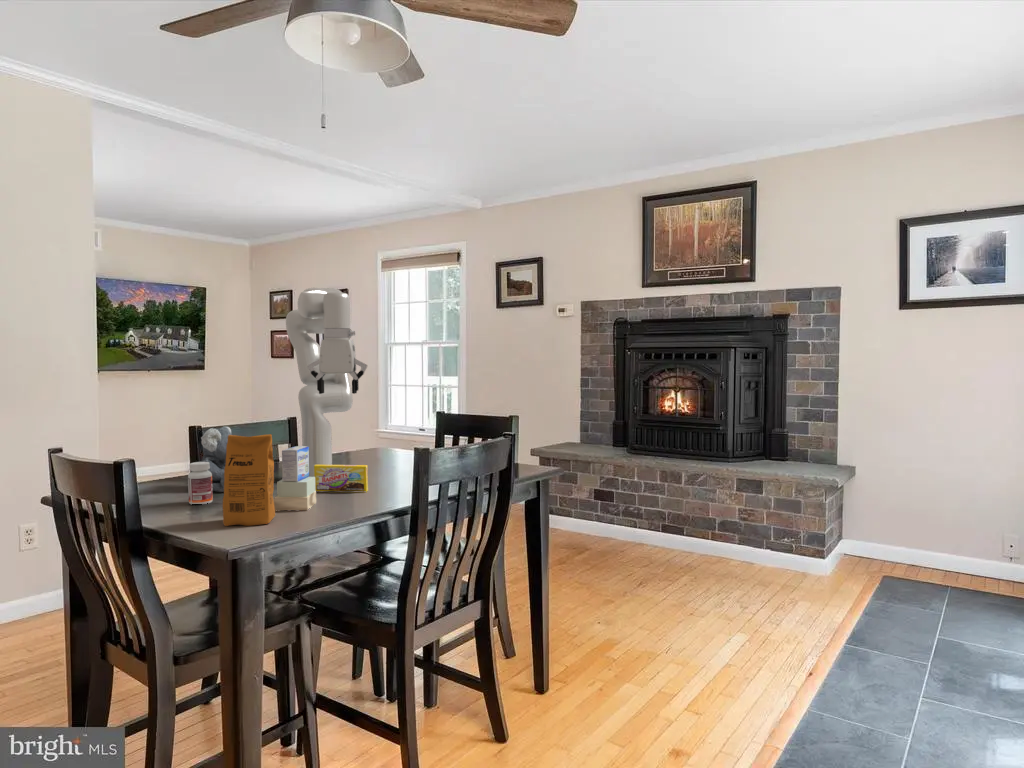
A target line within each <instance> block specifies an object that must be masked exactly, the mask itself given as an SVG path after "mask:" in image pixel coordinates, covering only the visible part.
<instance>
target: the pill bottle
mask: <svg viewBox="0 0 1024 768" xmlns="http://www.w3.org/2000/svg"><path fill="white" fill-rule="evenodd" d="M208 469H210V465H209V462H201V461H195V462H191V463H189V471H190V472H189V473H188V475H187V483H188V484H187V487H188V492H187V493H188V503H189V504H190V505H192V504H202V505H207V503H208V504H211V503H212V502H213V499H214V498H213V496H214V495H213V494H214V493H213V491H212V473H211V472H210V471H208Z"/></svg>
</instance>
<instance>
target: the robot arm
mask: <svg viewBox="0 0 1024 768" xmlns="http://www.w3.org/2000/svg"><path fill="white" fill-rule="evenodd" d="M350 300H351V297H350V295H349V294H348V293H346V292H342V291H341V290H340V289H338V288H330V287H329V288H328V287H327V288H325V287H309V288H306V289H304V290H303V291H302V292H300V293H299V296H298V297H297V309H293V310H291V311H289V312H288V313H287V315H286V316H285V329H286V333H287V336H288V339H289V341H290V343H291V345H292V348H293V349H294V351H295V356H296V362H297V368H298V374H299V379H300V381H301V383H302V384H304V386H302V387H301V389H300V390H299V392H298V395H297V396H298V403H299V411H300V418H301V446H308V447H309V477H314V465H333V447H332V445H333V443H332V442H333V441H332V440H333V439H332V436H333V435H332V434H333V433H332V425H331V422H330V421H329V420H328V418H326V416H325V415H324V414H327V413H328V414H329V413H344V412H345V413H346V412H348V411H350V410H351V409H352V407H353V400H354V398H353V394H354V395H355V394H357V393H358V391H359V380H361V379H360V378H362V376H363V375H365V372H366V371H367V368H368V364H366V363H365V362H363V361H361V360H359V359H357V357H356V355H357V354H356V347H355V342H354V339H351V338H352V337H353V336H355V337H356V331H355V330H352V329H351V301H350ZM309 334H316V335H317V334H319V335H320V334H323V339H321V343H320V344H319V343H318V342H317V341H316V340H315V339H314V338H313V337H312V336H310V335H309ZM357 366H359V368H360V370H359V371H358V372H356V371H357ZM349 375H350V376H351V377H352V380H351V381H350V376H349Z"/></svg>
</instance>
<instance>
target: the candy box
mask: <svg viewBox="0 0 1024 768" xmlns="http://www.w3.org/2000/svg"><path fill="white" fill-rule="evenodd" d="M368 471H369V469H368V464H367V465H366V464H332V465H314V477H315V491H366V492H365V493H368V492H369V481H368V480H369V479H368V478H369V477H368V475H369V474H368V473H369V472H368ZM367 491H368V492H367Z"/></svg>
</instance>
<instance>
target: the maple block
mask: <svg viewBox="0 0 1024 768" xmlns="http://www.w3.org/2000/svg"><path fill="white" fill-rule="evenodd" d="M273 501H274V507H275V512H277V511H276V510H308V509H309V508H310V509H312V508H313V507H314V506H315V505H317V492H316V491H315V492H313V493H312V494H310V495H309V496H308V497H277V495H275V496H273ZM314 504H315V505H314ZM313 505H314V506H313ZM312 506H313V507H312ZM311 507H312V508H311ZM310 509H309V510H310ZM309 510H308V511H309Z"/></svg>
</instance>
